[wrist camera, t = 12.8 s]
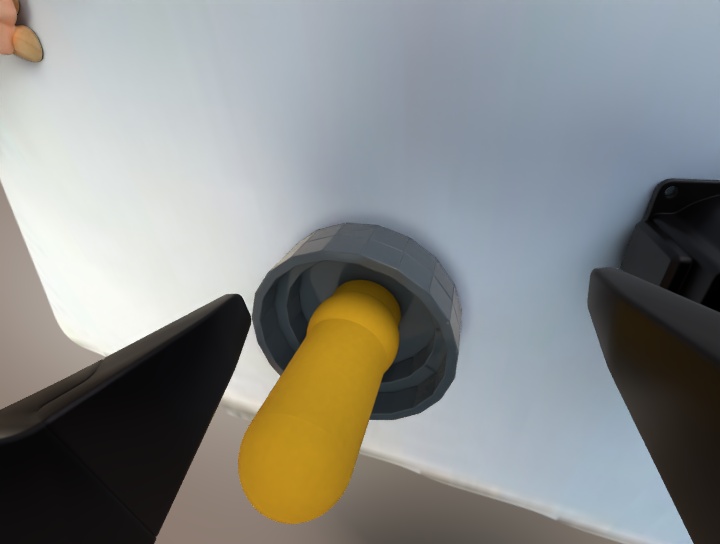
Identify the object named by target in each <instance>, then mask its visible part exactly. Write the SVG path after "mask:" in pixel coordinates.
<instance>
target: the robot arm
mask: <svg viewBox="0 0 720 544" xmlns="http://www.w3.org/2000/svg"><path fill="white" fill-rule="evenodd" d="M672 186H674V187H675V189H674V191H673V192H672V193H670V194H667V195H665V191H666V189H667V188H669V187H672ZM621 269H622V270H623V271H622V270H619V269H617V268H613V267H610V268H597V269H594V270H593V271H592V272H591V275H590V283H589V291H588V300H587V303H588V309H589V313H590V316H591V319H592V322H593V325H594V328H595V331H596V334H597V337H598V340H599V343H600V346H601V349H602V352H603V355H604V358H605V360H606V363H607V366H608V368H609V371H610V373H611V375H612V377H613V379H614V381H615V383H616V386H617V388H618V390H619V392H620V394H621V396H622V398H623V400H624V402H625V404H626V406H627V408H628V410H629V412H630V414H631V416H632V418H633V420H634V422H635V424H636V427H637V429H638V431H639V433H640V435H641V437H642V439H643V441H644V443H645V445H646V447H647V449H648V451H649V453H650V455H651V457H652V459H653V461H654V463H655V465H656V467H657V470H658V472H659V474H660V476H661V478H662V480H663V482H664V484H665V486H666V488H667V490H668V492H669V494H670V496H671V498H672V500H673V502H674V504H675V506H676V508H677V511H678V513H679V515H680V517H681V519H682V521H683V523H684V525H685V527H686V529H687V531H688V533H689V535H690V537H691V539H692V541H693V543H694V544H720V180H697V179H666V180H664V181H662V182H661V183H659V184H658V185H657V187H656V188H655V191H654V193H653V196H652V199H651V201H650V204H649V206H648V209H647V212H646V214H645V217H644V219H643V220H642V221H641V222H639V223H638V224H637V225H636V227H635V229H634V232H633V235H632V237H631V240H630V243H629V245H628V248H627V251H626V253H625V256H624V259H623V261H622V264H621ZM250 325H251V316H250V313H249V311H248V309H247V307H246V304H245V302H244V300H243V298H242V296H241V295H239V294H227V295H224V296H222V297H220V298H218V299H216V300H214V301H212V302H210V303H208V304H207V305H205V306H203V307H201V308H199V309H197V310H195V311H193V312H191V313H189V314H188V315H186V316H184V317H182V318H180V319H178V320H176V321H174V322H172V323H170V324H168V325H167V326H165V327H163V328H161V329H159V330H157V331H155V332H153V333H151V334H149V335H147V336H146V337H144V338H142V339H140V340H138V341H136V342H134V343H132V344H130V345H128V346H126V347H125V348H123V349H121V350H119V351H117V352H115V353H113V354H111V355H109V356H107V357H106V358H105V359H104V360H100V361H98V362H96V363H94V364H92V365H90V366H88V367H86V368H84V369H82V370H80V371H78V372H77V373H75V374H73V375H71V376H69V377H67V378H65V379H63V380H61V381H59V382H57V383H55V384H53V385H51V386H49V387H47V388H45V389H42V390H40V391H38V392H37V393H34V394H32V395H30V396H28V397H26V398H24V399H22V400H20V401H18V402H16V403H14V404H11V405H9V406H7V407H5V408H3V409H1V410H0V544H154V543H155V541H156V536H157V535H158V534H159V531H160V529H161V527H162V525H163V523H164V520H165V518H166V516H167V514H168V512H169V510H170V508H171V506H172V503H173V501H174V499H175V497H176V495H177V493H178V491H179V488H180V486H181V484H182V482H183V480H184V478H185V475H186V474H187V471H188V469H189V467H190V465H191V463H192V461H193V458H194V456H195V454H196V452H197V450H198V448H199V446H200V443H201V441H202V439H203V437H204V435H205V433H206V430H207V428H208V426H209V424H210V422H211V420H212V417H213V416H214V413H215V411H216V409H217V407H218V405H219V403H220V401H221V398H222V396H223V394H224V392H225V390H226V388H227V386H228V383H229V381H230V379H231V377H232V375H233V373H234V370H235V368H236V365H237V363H238V360H239V357H240V354H241V351H242V348H243V345H244V343H245V340H246V337H247V334H248V331H249V328H250Z"/></svg>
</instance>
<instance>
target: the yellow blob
mask: <svg viewBox="0 0 720 544" xmlns="http://www.w3.org/2000/svg"><path fill="white" fill-rule="evenodd" d="M400 319H401V312H400V307H399V305H398V303H397V301H396V299H395V298H394V296H393V295H392V294H391V293H390V292H389V291H388V290H387V289H385V288H384V287H382V286H381V285H379V284H377V283H374V282H371V281H367V280H352V281H349V282H346V283H344V284H342V285H341V286H339V287H338V288H337V289H336V291H335V292H334V294H333V295H332V296H331V297H329V298H328V299H326V300H325V301H324V302H322V303H321V304H320V305H319V306H318V308H317V309H316V310H315V312H314V313H313V315H312V317H311V319H310V321H309V324H308V328H307V336H306V337H305V339H304V341H303V342H302V344H301V345H300V347H299V348H298V350H297V351H296V353H295V355H294V356H293V358H292V359H291V361H290V362H289V364H288V366H287V367H286V369H285V370H284V372H283V373H282V375H281V376H280V378H279V380H278V381H277V383H276V384H275V386H274V387H273V389H272V391H271V392H270V394H269V395H268V397H267V398H266V400H265V402H264V403H263V405H262V406H261V408H260V409H259V411H258V412H257V414H256V416H255V417H254V419H253V420H252V422H251V424H250V425H249V427H248V429H247V431H246V433H245V435H244V437H243V440H242V443H241V447H240V452H239V459H238V466H239V467H238V468H239V477H240V482H241V485H242V488H243V491H244V492H245V495H246V496H247V498H248V500H249V501H250V503H251V504H252V505H253V506H254V507H255V508H256V510H258V511H259V512H260V513H261V514H263V515H264V516H266V517H268V518H269V519H272V520H274V521H277V522H281V523H288V524H296V523H303V522H307V521H310V520H313V519H315V518H317V517H319V516H321V515H322V514H324V513H325V512H327V511H328V510H329V509H330V508H331V507H332V506H333V505H334V504H335V503H336V502H337V501H338V500H339V499H340V497H341V496H342V495H343V493H344V491H345V489H346V488H347V486H348V484H349V481H350V478H351V475H352V473H353V469H354V466H355V463H356V460H357V456H358V454H359V450H360V447H361V444H362V441H363V438H364V435H365V431H366V428H367V425H368V422H369V419H370V415H371V412H372V409H373V406H374V403H375V400H376V396H377V393H378V390H379V387H380V384H381V380H382V377H383V374H384V373H385V372H386V371H387V370H388V368H389V367H390V366H391V364H392V363H393V361H394V359H395V357H396V354H397V351H398V347H399V329H398V326H399V323H400Z"/></svg>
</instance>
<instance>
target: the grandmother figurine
mask: <svg viewBox="0 0 720 544" xmlns="http://www.w3.org/2000/svg"><path fill="white" fill-rule="evenodd" d="M18 11H19V1H18V0H0V54H4V55H11V54H14V55H17V56H19V57H22V58H24V59H27V60H30V61H33V62H39V61H40V60H41V59H42V48H41V45H40V42H39V40H38V38H37V36H36V35H35V33H34V32H33V31H32V30H31V29H30V28H28V27H26V26H24V25H17V26H15V23H16V21H17V13H18Z"/></svg>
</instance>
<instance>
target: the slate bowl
mask: <svg viewBox="0 0 720 544" xmlns="http://www.w3.org/2000/svg"><path fill="white" fill-rule="evenodd" d="M352 280H367V281H371V282H374V283H377V284H379V285H381V286H382V287H384V288H385V289H387V290H388V291H389V292H390V293H391V294H392V295H393V296H394V298H395V299H396V301H397V303H398V305H399V307H400V312H401V319H400V323H399V326H398V329H399V347H398V351H397V354H396V357H395V359H394V361H393V363H392V364H391V366H390V367H389V368H388V370H387V371H386V372H385V373H384V374H383V377H382V380H381V384H380V387H379V390H378V393H377V396H376V400H375V403H374V406H373V409H372V412H371V415H370V419H369V420H396V419H400V418H404V417H407V416H411V415H415V414H419V413H421V412H423V411H424V410H426V409H427V408H429V407H430V406H432V405H433V404H435V403H436V402H438V401H439V400H440V399H441V398H442V397H443V395H444V394H445V392H446V391H447V389H448V388H449V386H450V385H451V383H452V382H453V380H454V379H455V375H456V367H457V360H458V352H459V340H460V327H461V315H462V310H461V306H460V302H459V299H458V295H457V291H456V287H455V284H454V283H453V281H452V280H451V279H450V277H449V276H448V274H447V273H446V271H445V270H444V268H443V267H442V266H441V264H440V263H439V261H438V260H437V259H436V257H434V256H433V255H432V254H431V253H429V252H428V251H427V250H425V249H424V248H423V247H421V246H420V245H419V244H418V243H416V242H415V241H414V240H412V239H411V238H409V237H407V236H404V235H402V234H399V233H397V232H394V231H392V230H389V229H386V228H384V227H381V226H378V225H369V224H356V223H343V224H339V225H335V226H331V227H327V228H323V229H319V230H316V231H315V232H313V233H312V234H311V235H309V236H308V237H306V238H305V239H303V240H302V241H300V242H299V243H298V244H296V245H295V246H294V247H293V248H292V249H291V250H290V251H289V252H288V253H287V254H286V255H285V256H284V257H283V258H282V259H281V260H280V261H279V262H278V263H277V264H276V265H275V266H274V267H273V268H272V269H271V270H270V271H269V272H268V273H267V275H266V276H265V278H264V280H263V281H262V283H261V285H260V286H259V288H258V289H257V291H256V293H255V298H254V305H253V313H252V321H253V325H254V329H255V334H256V338H257V342H258V344H259V346H260V348H261V349H262V351H263V353H264V355H265V356H266V358H267V360H268V362H269V363H270V365H271V366H272V367H273V368H274V369H275V371H276V372H277V373H278V374H279V375H280V376H281V375H282V373H283V372H284V370H285V369H286V367H287V366H288V364H289V362H290V361H291V359H292V358H293V356H294V355H295V353H296V351H297V350H298V348H299V347H300V345H301V344H302V342H303V341H304V339H305V337H306V336H307V328H308V324H309V321H310V319H311V317H312V315H313V313H314V312H315V310H316V309H317V308H318V306H319V305H320V304H321V303H322V302H324V301H325V300H326V299H328V298H329V297H331V296H332V295H333V294H334V292H335V291H336V289H337V288H338V287H339V286H341V285H342V284H344V283H346V282H349V281H352Z"/></svg>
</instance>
